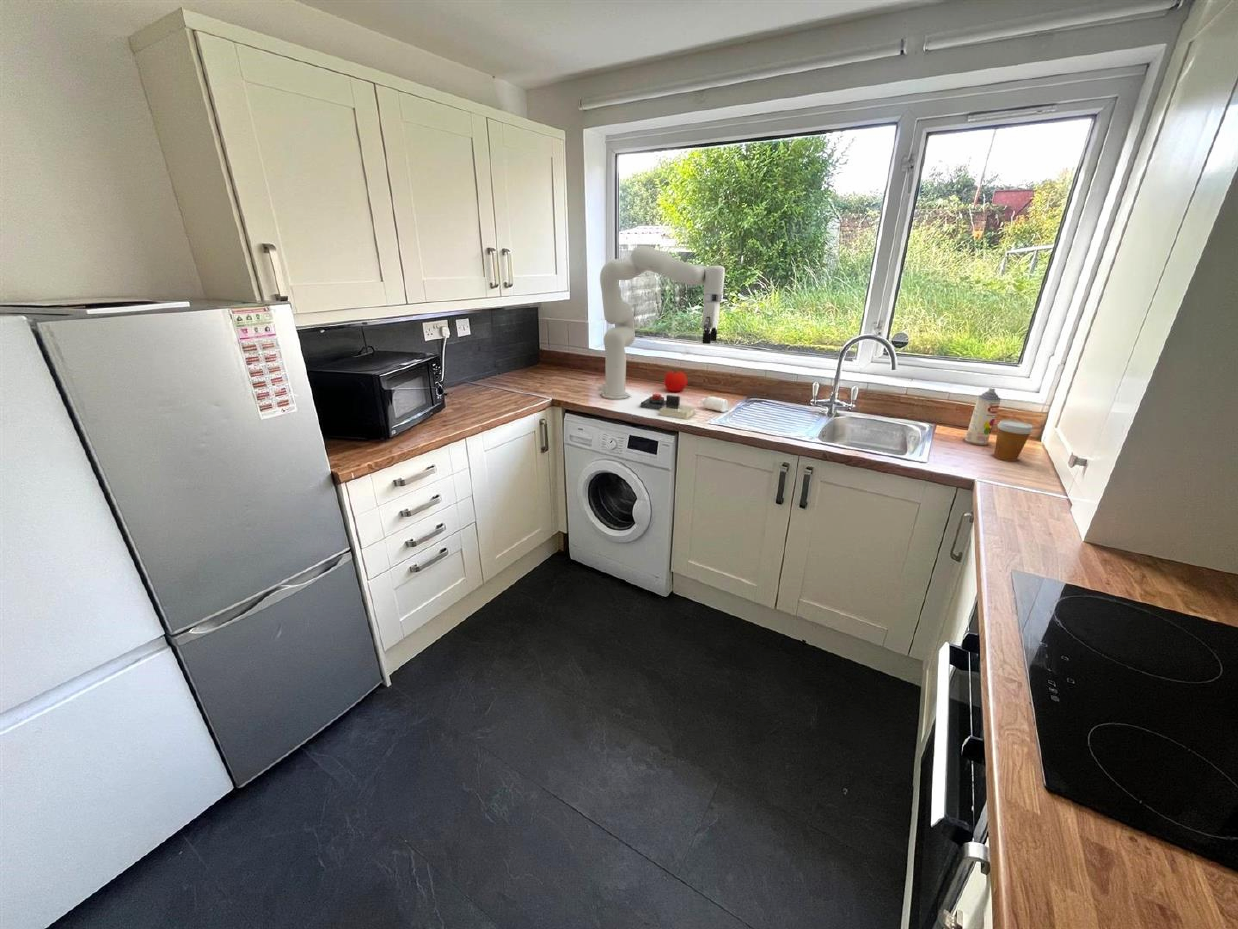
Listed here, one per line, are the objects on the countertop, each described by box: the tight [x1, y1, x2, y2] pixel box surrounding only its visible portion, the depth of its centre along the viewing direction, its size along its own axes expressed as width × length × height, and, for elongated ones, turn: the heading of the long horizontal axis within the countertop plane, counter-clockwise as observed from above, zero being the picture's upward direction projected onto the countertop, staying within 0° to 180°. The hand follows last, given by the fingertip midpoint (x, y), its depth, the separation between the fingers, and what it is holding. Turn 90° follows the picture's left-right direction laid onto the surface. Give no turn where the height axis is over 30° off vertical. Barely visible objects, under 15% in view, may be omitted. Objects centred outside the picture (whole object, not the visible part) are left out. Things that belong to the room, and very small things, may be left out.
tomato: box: [664, 369, 688, 393], centre depth 247 cm, size 12×12×10 cm
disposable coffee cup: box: [993, 419, 1034, 462], centre depth 165 cm, size 10×10×12 cm
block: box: [640, 395, 666, 411], centre depth 219 cm, size 11×9×4 cm
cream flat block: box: [658, 405, 696, 420], centre depth 209 cm, size 13×10×3 cm
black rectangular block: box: [665, 394, 681, 409], centre depth 208 cm, size 6×2×5 cm, turn 65°
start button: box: [652, 393, 662, 399], centre depth 218 cm, size 4×4×2 cm
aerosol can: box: [964, 387, 1001, 446], centre depth 179 cm, size 7×7×20 cm
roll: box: [699, 396, 729, 413], centre depth 216 cm, size 6×12×6 cm, turn 51°
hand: (709, 342), depth 206 cm, fingers open, 9 cm apart
